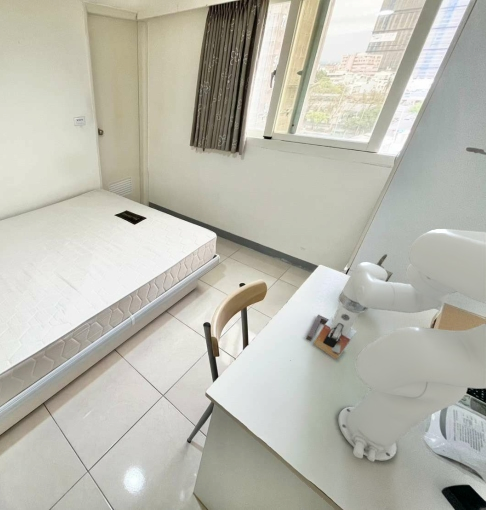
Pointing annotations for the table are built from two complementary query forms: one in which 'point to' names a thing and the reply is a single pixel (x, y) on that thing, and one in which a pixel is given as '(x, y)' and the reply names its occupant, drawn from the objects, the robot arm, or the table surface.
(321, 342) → the small box
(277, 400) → the table surface
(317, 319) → the corner stop
